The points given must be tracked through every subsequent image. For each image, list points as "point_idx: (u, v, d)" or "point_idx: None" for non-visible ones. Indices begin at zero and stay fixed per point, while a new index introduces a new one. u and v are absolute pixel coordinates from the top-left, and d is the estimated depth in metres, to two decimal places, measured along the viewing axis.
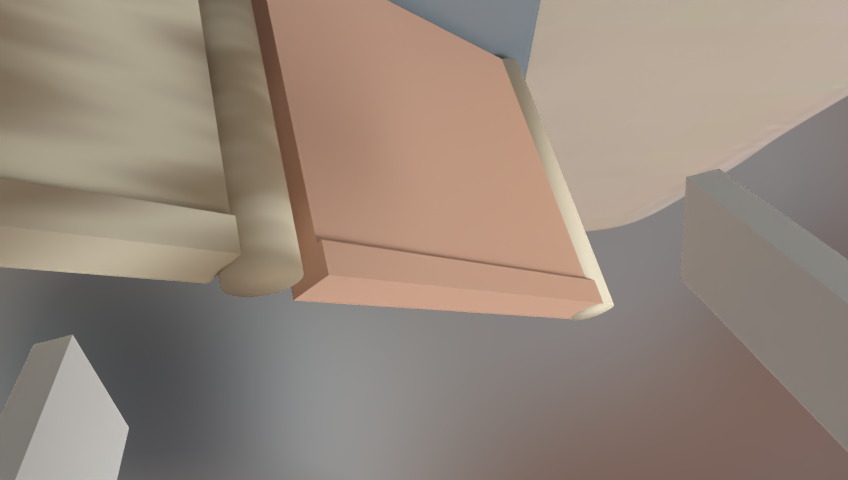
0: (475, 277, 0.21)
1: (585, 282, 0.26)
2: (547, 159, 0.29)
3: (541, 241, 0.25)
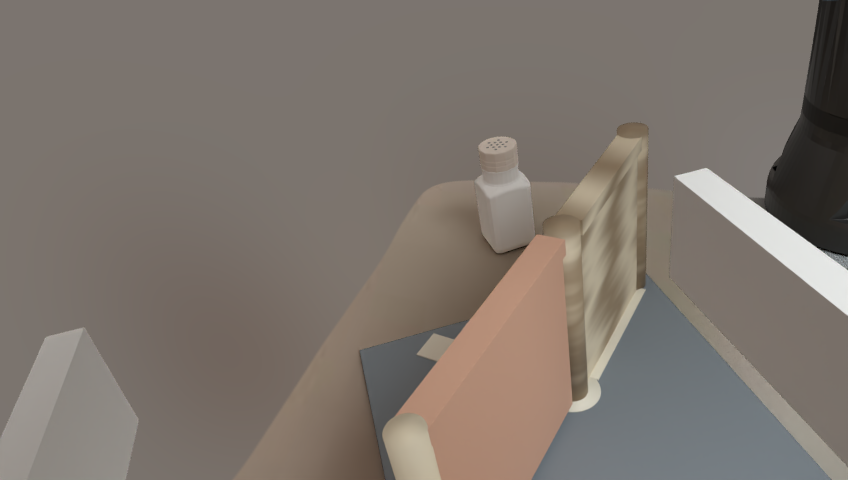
0: (516, 315, 0.30)
1: (442, 429, 0.26)
2: None
3: (465, 423, 0.28)
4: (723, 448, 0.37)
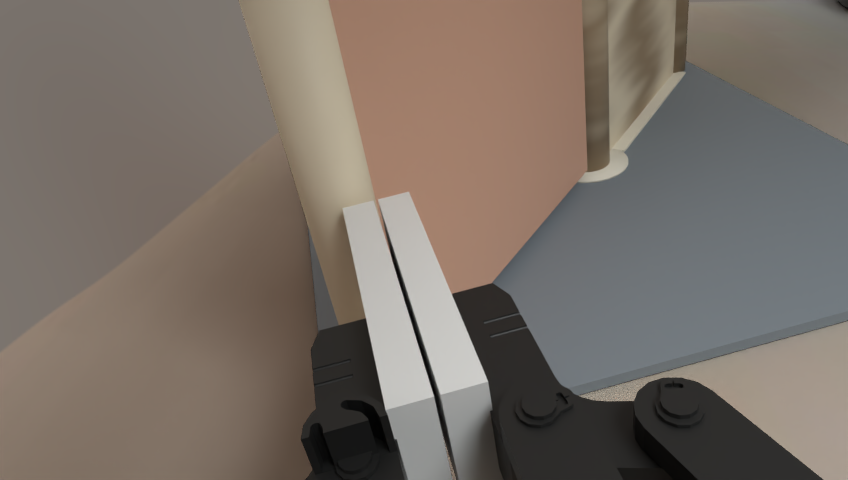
0: None
1: None
2: None
3: (399, 11, 0.16)
4: (818, 203, 0.24)
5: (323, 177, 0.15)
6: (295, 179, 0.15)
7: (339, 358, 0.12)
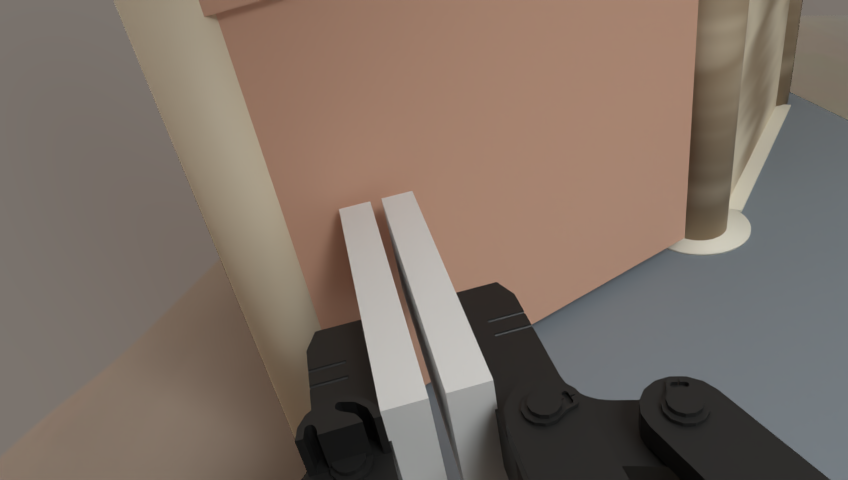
0: None
1: None
2: (291, 272, 0.15)
3: (344, 53, 0.14)
4: None
5: (217, 224, 0.14)
6: None
7: (335, 359, 0.12)
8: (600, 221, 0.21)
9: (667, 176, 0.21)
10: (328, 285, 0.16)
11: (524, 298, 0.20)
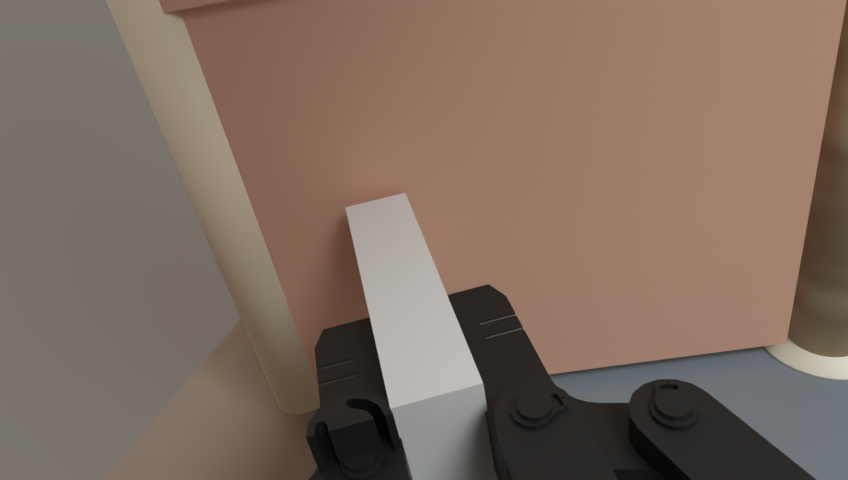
0: None
1: None
2: (254, 252, 0.16)
3: (311, 62, 0.14)
4: None
5: (190, 194, 0.16)
6: None
7: (343, 357, 0.12)
8: (646, 293, 0.17)
9: (761, 265, 0.17)
10: (296, 273, 0.17)
11: None
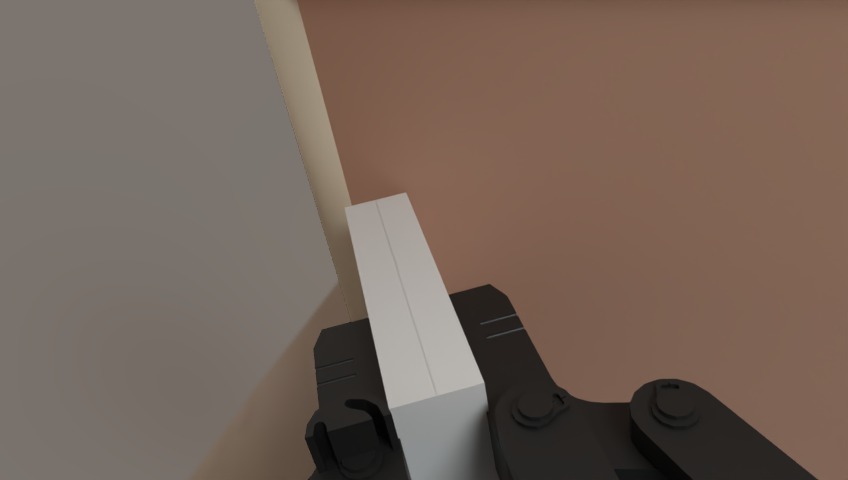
0: None
1: None
2: (341, 220, 0.17)
3: (394, 59, 0.13)
4: None
5: None
6: None
7: (342, 357, 0.12)
8: None
9: None
10: None
11: None
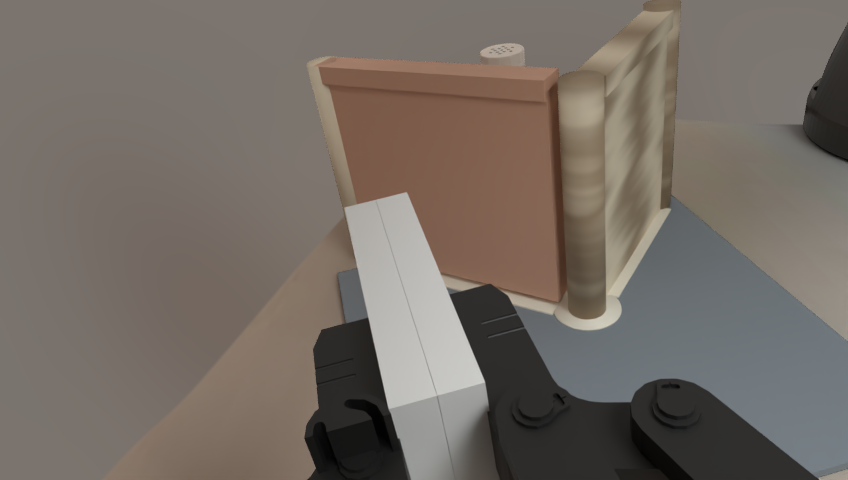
0: (434, 82, 0.32)
1: (332, 82, 0.36)
2: (344, 176, 0.40)
3: (365, 112, 0.36)
4: (775, 366, 0.30)
5: None
6: None
7: (342, 357, 0.12)
8: (490, 249, 0.36)
9: (538, 254, 0.35)
10: (359, 190, 0.40)
11: (446, 258, 0.39)
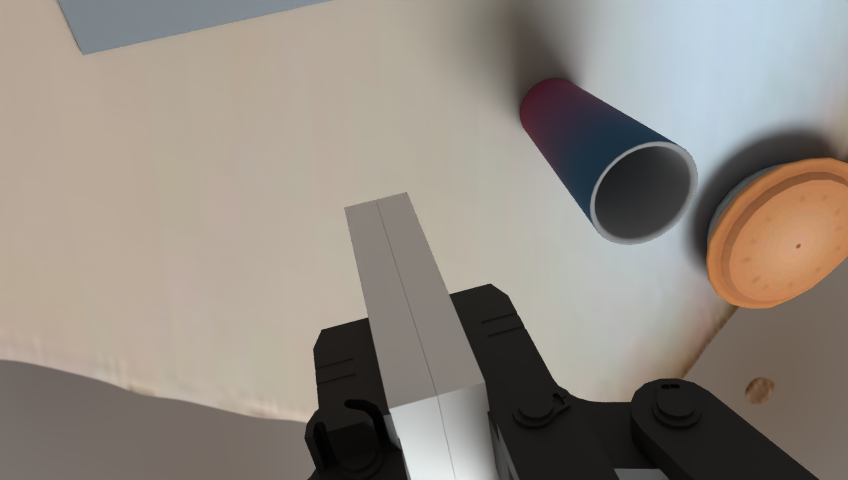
0: None
1: None
2: None
3: None
4: None
5: None
6: None
7: (342, 357, 0.12)
8: None
9: None
10: None
11: None
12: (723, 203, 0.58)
